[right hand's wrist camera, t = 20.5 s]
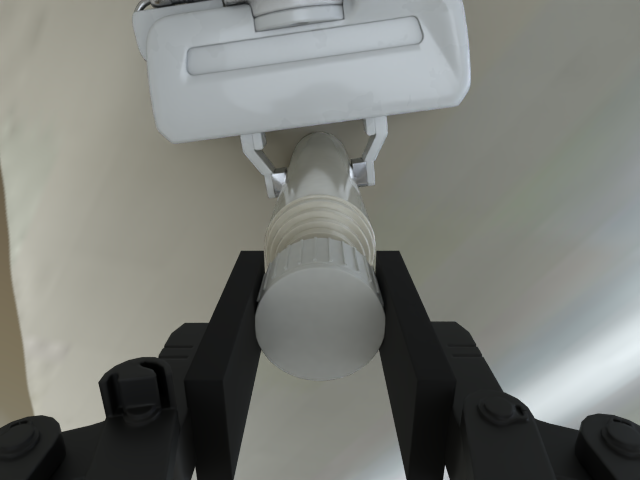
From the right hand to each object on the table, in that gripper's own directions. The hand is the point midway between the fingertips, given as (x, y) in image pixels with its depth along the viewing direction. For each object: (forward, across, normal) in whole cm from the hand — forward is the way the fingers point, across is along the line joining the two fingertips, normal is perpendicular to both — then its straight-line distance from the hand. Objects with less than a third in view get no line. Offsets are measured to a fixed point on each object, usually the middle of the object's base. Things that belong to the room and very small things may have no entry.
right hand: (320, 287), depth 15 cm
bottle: (+24, 0, 0) cm, 24 cm away
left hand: (+17, 0, -1) cm, 17 cm away
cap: (-2, 0, 0) cm, 2 cm away
